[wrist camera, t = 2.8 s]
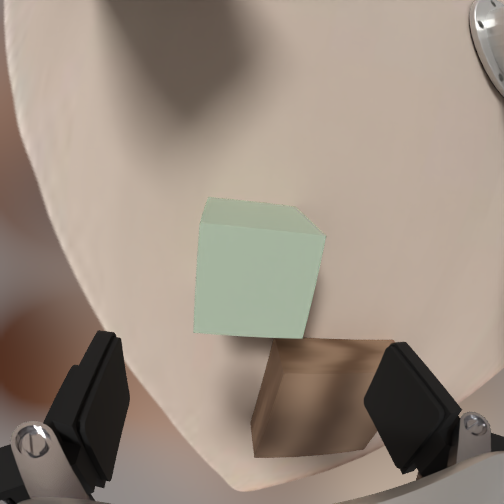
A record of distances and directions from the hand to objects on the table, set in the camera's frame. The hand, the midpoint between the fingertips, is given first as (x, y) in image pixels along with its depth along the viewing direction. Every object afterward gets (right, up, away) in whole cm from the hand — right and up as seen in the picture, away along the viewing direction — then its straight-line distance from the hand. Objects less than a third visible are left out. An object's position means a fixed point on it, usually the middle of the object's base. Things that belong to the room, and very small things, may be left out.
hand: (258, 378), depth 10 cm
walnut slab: (+6, -9, +18) cm, 21 cm away
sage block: (-1, +5, +12) cm, 13 cm away
